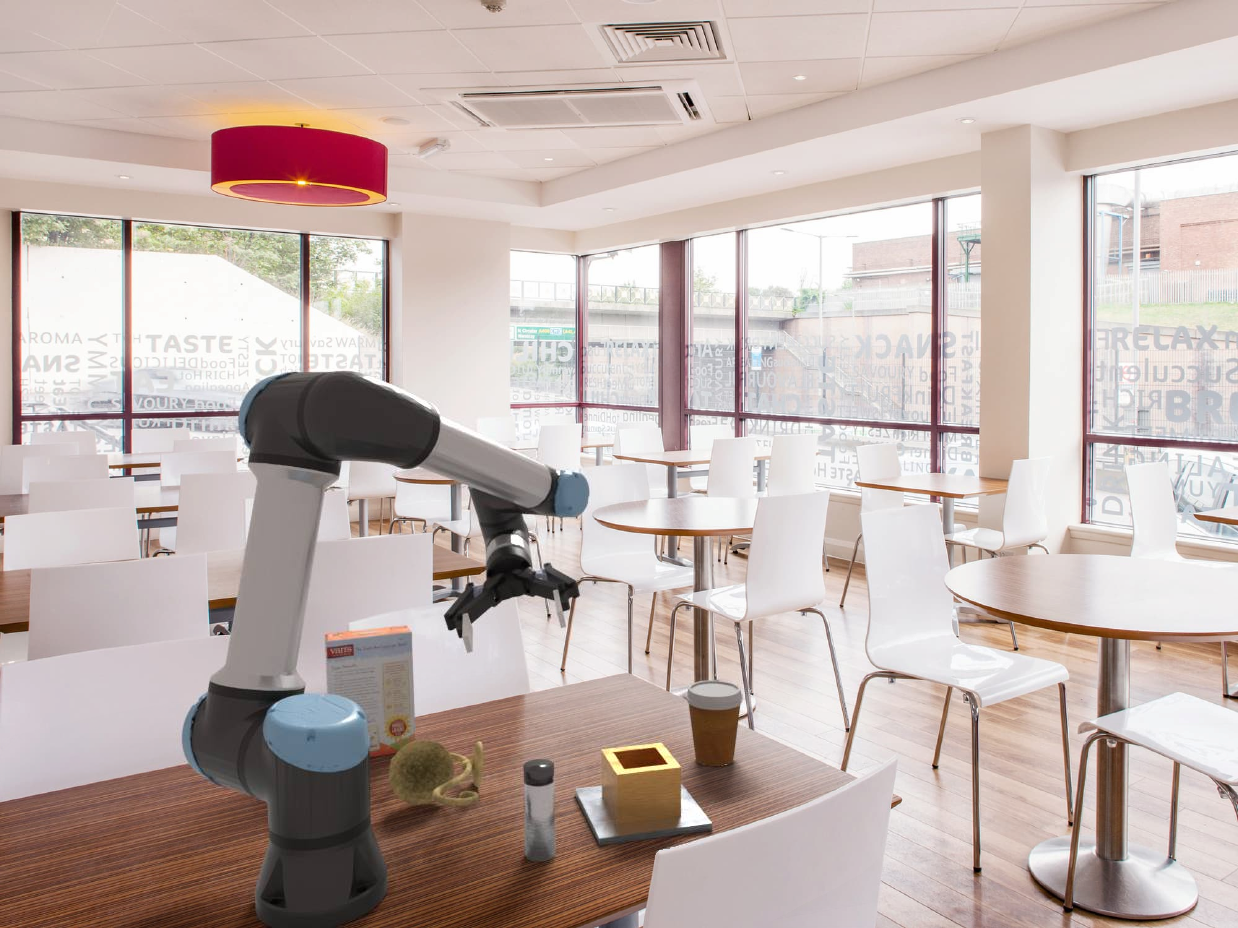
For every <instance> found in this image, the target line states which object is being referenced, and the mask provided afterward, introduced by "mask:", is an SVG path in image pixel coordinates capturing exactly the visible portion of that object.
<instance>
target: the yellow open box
mask: <svg viewBox="0 0 1238 928" xmlns="http://www.w3.org/2000/svg"><path fill="white" fill-rule="evenodd" d="M574 792H575V793H574V795H575V797H576V799H577V802H578V804H579V805H580V809H581V810H582V812H583V814H584V817H585V819H586V821H587V823H588V824H589V827H590V828H591V829H590V830H591V831H592V834H593V835H594V837H595V839H596V842H597V843H598V846H606V845H614V844H622V843H628V842H636V841H643V840H651V839H658V838H665V837H672V836H679V835H678V834H681V835H687V833H688V834H695V833H702V832H710V831H713V823H712V821H711V820H710V819H709V817H708V816H707V814H706V813H705V812H704V811H703V809H702V808H701V807H700V805H699V804H698V802H696V800H695V799H694V798H693V797H692V795H691V794H690V793H689V792H688V790H687V789H686V787H684V784H682V766H681V765H680V764H679V763H678V762H677V760H676V759H675V758H674V756H673V755H672V754H671V752H669V750H668V749H667V748H666V747H665V745H664V744H663V743H662V742H657V743H649V744H646V743H645V744H638V745H629V746H619V747H610V748H604V749H603V748H602V749H601V785H596V786H595V785H593V786H585V787H577V788H575V789H574ZM693 832H694V833H693Z"/></svg>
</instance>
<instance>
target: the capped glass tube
mask: <svg viewBox="0 0 1238 928" xmlns="http://www.w3.org/2000/svg"><path fill="white" fill-rule="evenodd" d="M522 766H523V767H522V769H523V810H524V811H523V814H524V816H523V817H524V818H523V819H524V820H523V821H524V857H525V858H526V859H527V861H528V860H529V861H530V862H535V863H536V862H537V863H540V862H546V861H550V860H551V859H553V858H555V856H556V852H557V851H556V805H555V804H556V803H555V802H556V800H555V797H556V796H555V794H556V793H555V790H556V789H555V788H556V787H555V763H554V761H552V760H550V759H545V758H536V759H530V760H527V761H526V762H524V764H523V765H522Z"/></svg>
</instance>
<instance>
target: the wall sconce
mask: <svg viewBox="0 0 1238 928" xmlns="http://www.w3.org/2000/svg"><path fill="white" fill-rule="evenodd" d="M454 761H457V762H458V761H459V762H460V767H461V769H462V770H464V771H463V772H462V773H461V774H460V775H458V776H456V777H454V775H455V774H454V773H455V764H454ZM389 764H390V765H389V768H388V769H389V770H388V781H389V786H390V788H391V789H392V791H393V793H394V794H395V796H396V797H397V798H398V799H400V800H401V801H403V802H405V803H406V804H409V805H414V806H415V805H418V806H420V805H427V804H430V803H433V802H434V801H436V802H438V803H439V804H442V805H446V806H453V807H454V806H455V807H463V806H470V805H473V804H475V803H477V802H479V799H480V795H479V794H478V793H477V792H476V791H470V790H465V791H462V792H460V793H459V794H458V798H456V797H454V798H453V797H449V796H448V797H447V796H444V794H446V792H447V790H450V789H452V788H454V787H456V786H457V785H459V784H461V783H462V782H464V781H466V780H467V779H468V778H469V777H470V775H471V774H472V780H473V781H472V782H473V785H474V786H475V788H479V787H481V784H482V781H483V775H484V774H483V773H484V772H483V771H484V747H483V743H482V742H481V741H476V742H475V745H474V747H473V751H472V760H470V759H469V758H468V757H466V756H465V755H462V754H459V753H455V752H454V753H453V752H449V750H448V749H447V748H446V747H445V746H444V745H443V744H441V743H439V742H438V741H436V740H431V739H418V740H416V741H413V742H411V743H409V744H407V745H405V746H404V747H403V748H401V749H400V750H399V751H398V752H397V753H395V755H394V756H392V757H391V759H390V761H389Z"/></svg>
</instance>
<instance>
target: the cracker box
mask: <svg viewBox="0 0 1238 928" xmlns="http://www.w3.org/2000/svg"><path fill="white" fill-rule="evenodd" d="M324 645H325V646H324V648H325V649H324V650H325V652H324V653H325V674H326V677H325V678H326V694H333V695H338V696H342V697H345V698H348V699H350V700H352V701H354V702H355V703H357V704H358V705H359V706H360V707H361V708H362V710H363V711H364V713H365V715H366V719H367V727H368V734H369V736H370V758H374V757H375V758H376V757H381V756H387V755H388V756H389V755H394V754H395V755H396V754H397V752H398V751H399V750H400V749H401V748H403V747H404V746H405V745H407V744H409V743H411V742H413V741H417V740H416V718H415V717H416V713H415V712H416V711H415V709H416V708H415V685H414V684H415V683H414V682H415V681H414V660H413V659H414V658H413V657H414V656H413V632H412V631H411V629H410V627H409V626H408V625H406V624H404V625H396V626H395V625H394V626H386V627H377V628H367V629H359V630H358V629H357V630H348V631H339V632H329V633H325V634H324Z"/></svg>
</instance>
